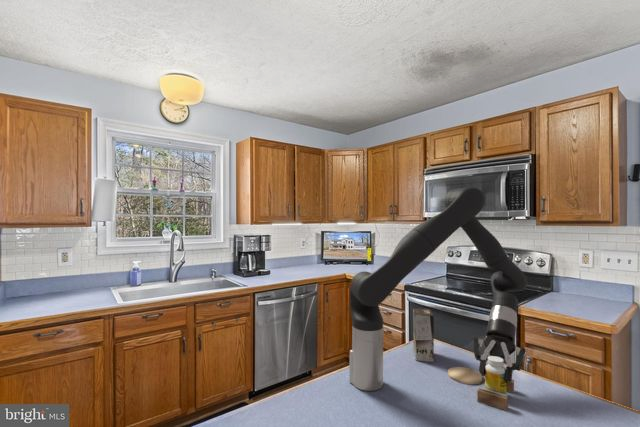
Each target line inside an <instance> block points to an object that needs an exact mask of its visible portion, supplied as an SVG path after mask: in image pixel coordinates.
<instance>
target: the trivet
mask: <svg viewBox="0 0 640 427" xmlns="http://www.w3.org/2000/svg"><path fill="white" fill-rule="evenodd" d="M447 375H448V377H449V378H450V379H452V380H453V381H455V382H457V383H461V384H464V385H478V384H481V383H482V382H483V376H482V375H481V374H480V372H479V371H477V370H475V369H472V368H470V367H469V368H468V367H463V366H453V367H451V368H450V367H449V369H448V370H447Z"/></svg>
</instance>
